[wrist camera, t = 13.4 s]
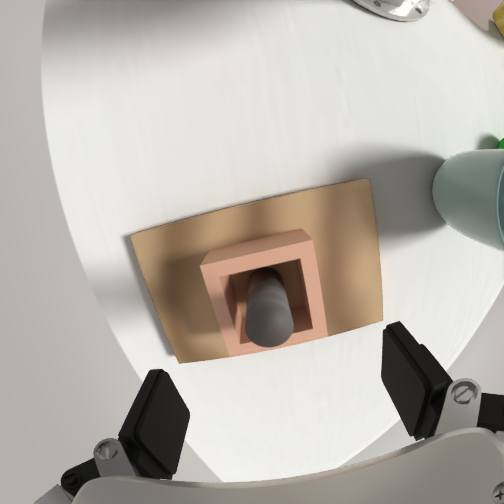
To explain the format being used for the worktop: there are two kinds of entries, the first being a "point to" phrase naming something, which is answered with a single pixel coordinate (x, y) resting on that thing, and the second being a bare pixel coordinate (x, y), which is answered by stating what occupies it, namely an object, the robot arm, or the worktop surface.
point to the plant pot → (499, 18)
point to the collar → (255, 256)
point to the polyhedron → (501, 144)
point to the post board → (256, 221)
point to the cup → (473, 195)
